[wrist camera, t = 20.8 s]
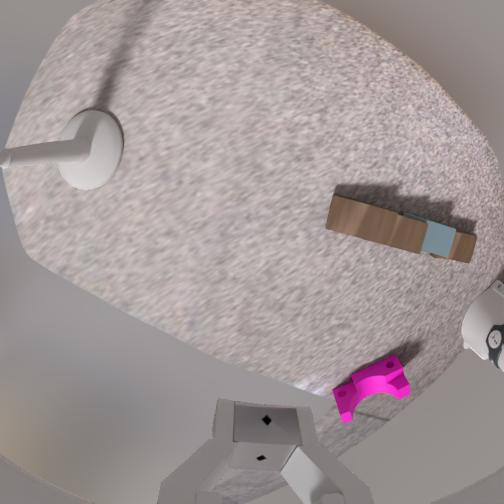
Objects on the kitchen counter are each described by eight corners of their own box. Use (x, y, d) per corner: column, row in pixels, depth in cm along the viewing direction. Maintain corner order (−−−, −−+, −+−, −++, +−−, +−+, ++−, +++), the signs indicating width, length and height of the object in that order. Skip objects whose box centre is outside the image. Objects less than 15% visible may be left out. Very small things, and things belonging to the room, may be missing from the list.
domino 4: (436, 226, 42) (472, 233, 42) (429, 254, 43) (465, 258, 44) (441, 229, 40) (477, 236, 40) (434, 257, 42) (470, 261, 42)
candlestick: (115, 98, 35) (-43, 62, 7) (131, 176, 39) (-29, 231, 11) (53, 128, 36) (-95, 140, 8) (68, 198, 40) (-75, 264, 12)
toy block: (394, 353, 52) (408, 376, 45) (397, 371, 54) (410, 394, 47) (329, 382, 54) (337, 408, 47) (336, 398, 56) (343, 423, 49)
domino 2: (369, 205, 41) (425, 222, 39) (361, 236, 43) (417, 251, 41) (370, 207, 40) (428, 224, 38) (362, 238, 42) (419, 254, 40)
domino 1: (333, 194, 41) (395, 211, 39) (325, 226, 42) (386, 242, 41) (333, 195, 39) (398, 213, 38) (325, 228, 41) (388, 245, 39)
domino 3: (396, 243, 42) (447, 257, 39) (404, 213, 40) (456, 229, 38) (394, 240, 43) (445, 255, 41) (402, 211, 42) (453, 227, 39)
